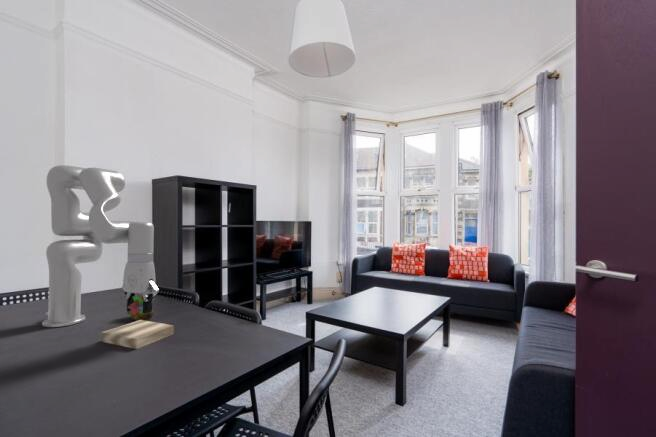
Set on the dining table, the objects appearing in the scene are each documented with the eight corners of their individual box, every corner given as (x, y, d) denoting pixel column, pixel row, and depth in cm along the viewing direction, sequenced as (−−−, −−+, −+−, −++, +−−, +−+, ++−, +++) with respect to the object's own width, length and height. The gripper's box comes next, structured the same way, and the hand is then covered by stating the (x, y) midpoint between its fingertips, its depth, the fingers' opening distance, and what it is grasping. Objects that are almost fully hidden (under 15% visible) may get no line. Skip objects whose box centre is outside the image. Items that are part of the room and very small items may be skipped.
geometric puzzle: (132, 313, 99) (146, 290, 103) (117, 311, 101) (131, 288, 106) (148, 321, 104) (160, 299, 109) (133, 319, 106) (146, 297, 111)
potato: (130, 325, 117) (130, 304, 117) (124, 317, 127) (125, 297, 127) (154, 320, 122) (155, 300, 122) (147, 313, 132) (148, 294, 132)
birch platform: (101, 341, 101) (101, 332, 101) (140, 327, 114) (140, 319, 114) (136, 349, 95) (137, 339, 95) (173, 334, 108) (173, 325, 108)
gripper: (111, 258, 104) (110, 311, 104) (149, 261, 99) (148, 317, 98) (132, 256, 112) (131, 306, 111) (169, 258, 106) (168, 311, 105)
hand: (139, 310), depth 105 cm, fingers closed on geometric puzzle, 6 cm apart
